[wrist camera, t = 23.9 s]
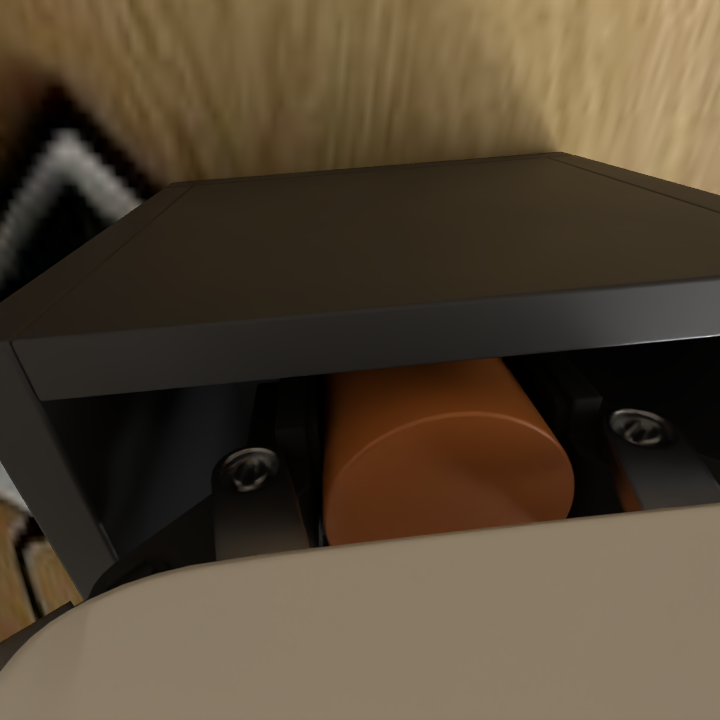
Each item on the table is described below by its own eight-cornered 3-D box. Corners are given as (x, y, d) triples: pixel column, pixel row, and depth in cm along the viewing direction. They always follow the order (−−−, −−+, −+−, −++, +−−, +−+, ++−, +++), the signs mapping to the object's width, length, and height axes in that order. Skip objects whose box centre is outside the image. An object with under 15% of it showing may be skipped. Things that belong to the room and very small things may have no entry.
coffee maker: (170, 182, 16) (-72, 348, 6) (563, 151, 17) (944, 256, 7) (248, 490, 24) (199, 795, 14) (518, 462, 25) (663, 735, 14)
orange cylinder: (377, 454, 14) (405, 621, 10) (284, 350, 12) (268, 501, 8) (512, 380, 13) (610, 528, 9) (435, 252, 11) (514, 362, 7)
